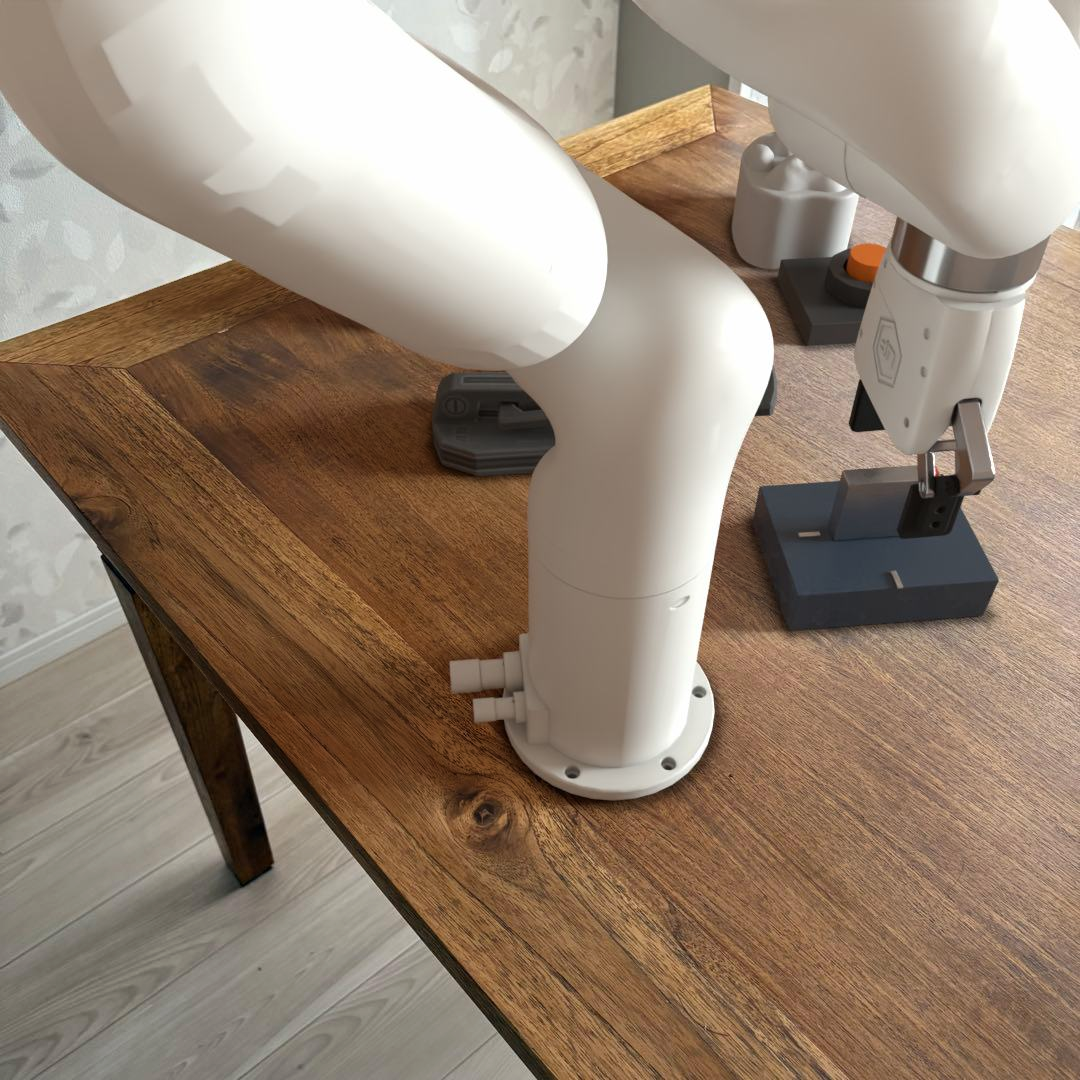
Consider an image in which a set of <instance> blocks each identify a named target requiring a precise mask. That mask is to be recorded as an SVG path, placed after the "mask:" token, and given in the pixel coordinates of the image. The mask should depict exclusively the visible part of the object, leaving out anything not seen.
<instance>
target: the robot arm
mask: <svg viewBox="0 0 1080 1080" xmlns="http://www.w3.org/2000/svg"><path fill="white" fill-rule="evenodd" d="M631 1H632V2H633V3H634V5H636V7H638V8H639V9H640V10H641V11H642V12H643V13H644V14H645V15H646V16H648V18H650V19H651V20H652V21H653V22H654V23H655V24H656V25H658V26H659V27H660V29H662V30H664V31H665V32H666V33H667V34H669V35H670V36H672V37H673V38H675V39H676V40H678V41H679V42H680V43H681V44H683V45H685V46H686V47H687V48H688V49H690V50H691V51H693V52H695V54H697V55H699V56H700V57H701V58H702V59H704V60H705V61H706V62H708V63H710V64H711V65H713V66H714V67H716V68H717V69H719V70H720V71H722V72H723V73H725V74H727V75H728V76H729V77H732V78H733V79H735V80H737V81H738V82H739V83H741V84H743V85H745V86H747V87H748V88H750V89H752V90H754V91H755V92H758V93H760V94H761V95H764V96H765V97H767V109H768V115H769V120H770V123H771V125H772V127H773V131H774V132H775V133H776V134H777V136H778V137H779V139H780V141H781V142H782V143H783V144H784V145H785V146H786V147H787V149H788V150H789V151H790V152H791V153H792V154H793V155H795V156H796V157H797V158H798V159H800V160H801V161H803V162H804V163H805V164H807V165H808V166H810V167H811V168H813V169H815V170H817V171H818V172H820V173H821V174H823V175H825V176H826V177H828V178H830V179H832V180H833V181H835V182H837V183H839V184H840V185H842V186H844V187H846V188H847V189H849V190H851V191H853V192H854V193H856V194H858V195H859V197H861V198H864V199H868V200H869V201H870V202H872V203H874V204H875V205H877V206H879V207H880V208H882V209H884V210H886V211H887V212H889V213H891V214H892V215H894V216H896V218H895V219H896V220H895V223H894V227H893V231H892V235H891V237H890V239H889V241H888V243H887V246H886V247H885V248H886V250H885V252H884V255H883V257H882V260H881V263H880V265H879V268H878V271H877V273H876V276H875V279H874V282H873V285H872V289H871V292H870V295H869V298H868V302H867V305H866V308H865V312H864V315H863V319H862V322H861V326H860V330H859V333H858V337H857V341H856V343H855V346H854V351H853V361H854V365H855V368H856V372H857V374H858V376H859V379H858V383H857V387H856V391H855V395H854V399H853V403H852V407H851V412H850V415H849V419H848V420H849V421H848V426H849V428H850V430H851V432H853V433H854V432H855V433H865V432H877V431H878V432H879V431H885V433H887V436H888V438H889V439H890V441H891V443H892V444H893V445H894V446H895V448H896V449H897V450H898V451H900V453H902V454H903V455H905V456H913V455H916V461H917V463H916V465H917V467H918V484H914V485H911V486H910V489H909V492H908V495H907V498H906V502H905V505H904V508H903V511H902V514H901V517H900V521H899V524H898V527H897V532H898V534H899V536H900V538H902V539H909V538H921V537H932V536H944V535H947V534H949V533H950V532H951V531H952V529H953V526H954V523H955V521H956V518H957V515H958V513H959V510H960V507H961V506H962V505H963V502H964V498H965V497H969V496H978V495H980V494H981V492H982V490H983V489H984V488H986V487H987V486H988V485H990V484H991V483H992V482H993V481H995V477H996V471H995V470H996V469H995V464H994V461H993V456H992V452H991V447H990V442H989V438H988V434H989V432H990V429H991V427H992V425H993V423H994V420H995V418H996V415H997V412H998V409H999V406H1000V403H1001V401H1002V397H1003V394H1004V390H1005V388H1006V384H1007V381H1008V377H1009V373H1010V370H1011V366H1012V362H1013V360H1014V357H1015V353H1016V352H1015V351H1016V347H1017V343H1018V339H1019V334H1020V329H1021V326H1022V325H1021V324H1022V320H1023V315H1024V309H1025V304H1026V298H1027V297H1026V296H1027V295H1026V292H1025V291H1027V290H1028V289H1030V287H1031V286H1032V285H1033V284H1034V281H1035V279H1036V277H1037V274H1038V272H1039V269H1040V266H1041V263H1042V261H1043V258H1044V255H1045V252H1046V249H1047V246H1048V244H1049V242H1050V239H1051V235H1052V234H1053V233H1054V232H1055V231H1057V230H1058V229H1059V228H1060V227H1061V226H1062V225H1063V224H1064V223H1065V221H1067V219H1069V217H1070V216H1071V215H1072V214H1073V213H1074V211H1075V210H1076V208H1077V207H1078V206H1079V204H1080V0H631ZM0 93H1V94H2V96H3V97H4V99H5V100H6V102H7V104H8V105H9V106H10V108H11V110H12V111H13V112H14V113H15V115H16V116H17V118H18V119H19V120H20V121H21V123H22V124H23V125H24V127H25V128H26V129H27V130H28V132H29V133H30V134H31V136H33V137H34V138H35V139H36V140H37V141H38V143H39V144H40V145H41V146H42V147H43V148H44V149H45V150H46V151H47V152H48V153H49V154H50V155H51V156H52V157H53V158H55V159H56V160H57V161H58V162H59V163H60V164H61V165H62V166H64V167H65V168H67V170H68V171H70V172H72V173H73V174H74V175H76V176H77V177H78V178H80V179H81V180H82V181H83V182H85V183H86V184H88V185H90V186H91V187H93V188H94V189H96V190H97V191H99V192H100V193H102V194H103V195H105V196H107V197H108V198H110V199H112V200H114V201H115V202H117V203H118V204H120V205H122V206H124V207H126V208H128V209H130V210H132V211H133V212H135V213H137V214H139V215H140V216H143V217H145V218H146V219H149V220H151V221H153V222H154V223H157V224H158V225H161V226H162V227H165V228H166V229H167V228H168V229H169V230H171V231H173V232H176V233H177V234H179V235H181V236H184V237H185V238H187V239H190V240H192V241H194V242H196V243H198V244H200V245H202V246H204V247H206V248H208V249H210V250H212V251H214V252H216V253H219V254H220V255H222V256H223V257H226V258H228V259H230V260H232V261H234V262H236V263H238V264H241V265H243V266H244V267H246V268H248V269H249V270H251V271H253V272H254V273H257V274H259V275H260V276H262V277H264V278H266V279H268V280H269V281H271V282H273V283H274V284H275V285H279V286H280V287H282V288H284V289H286V290H289V291H291V292H293V293H295V294H297V295H299V296H301V297H303V298H305V299H307V300H309V301H312V302H314V303H315V304H318V305H320V306H322V307H324V308H326V309H329V310H331V311H333V312H334V313H337V314H339V315H341V316H343V317H345V318H347V319H348V320H351V321H353V322H355V323H357V324H360V325H361V326H364V327H366V328H368V329H369V330H371V331H373V332H375V333H377V334H378V335H380V336H382V337H384V338H386V339H387V340H390V341H392V342H393V343H395V344H397V345H398V346H400V347H402V348H404V349H406V350H408V351H411V352H412V353H414V354H417V355H419V356H422V357H424V358H426V359H429V360H431V361H433V362H436V363H441V364H444V365H448V366H452V367H456V368H461V369H463V370H473V371H475V370H476V371H487V372H503V371H504V372H507V373H508V374H509V375H510V376H511V377H512V378H513V380H514V381H515V382H516V383H517V384H518V385H519V386H520V387H521V388H522V389H523V390H524V391H525V392H526V393H527V394H528V395H529V396H530V397H531V398H532V399H533V400H534V401H535V402H536V403H537V404H538V405H539V406H540V407H541V409H542V410H543V411H544V412H545V414H546V416H547V418H548V419H549V421H550V423H551V425H552V428H553V430H554V434H555V439H556V440H555V446H554V447H552V448H551V449H550V450H549V451H548V452H547V453H546V454H545V455H544V456H543V457H542V458H541V460H540V461H539V463H538V464H537V466H536V468H535V470H534V472H533V473H532V475H531V478H530V481H529V487H528V493H527V504H526V507H527V508H526V532H527V533H526V534H527V542H528V543H527V544H528V545H527V546H528V547H527V555H528V556H527V560H528V562H527V566H528V568H527V569H528V570H527V571H528V572H527V573H528V576H527V577H528V581H527V582H528V584H527V585H528V588H527V589H528V593H527V594H528V632H526V633H520V634H519V635H518V650H515V651H506V652H504V651H503V652H502V658H494V659H480V658H471V659H470V658H469V659H457V660H449V676H450V677H449V678H450V689H451V691H450V692H451V694H452V695H454V694H465V693H466V694H467V693H479V692H482V691H485V690H497V689H503V693H502V697H494V696H492V697H478V698H472V708H473V721H474V724H479V723H491V722H496V721H501V720H503V723H504V729H505V732H506V734H507V737H508V740H509V742H510V745H511V746H512V748H513V750H514V751H515V753H516V754H517V756H518V757H519V758H520V760H521V762H523V763H524V764H525V765H526V767H527V768H529V769H530V770H531V771H532V772H533V773H534V775H536V776H538V777H539V778H541V779H542V780H544V781H545V782H547V783H548V784H549V785H551V786H553V787H555V788H558V789H560V790H562V791H565V792H566V793H569V794H572V795H575V796H579V797H584V798H588V799H592V800H601V801H602V800H603V801H622V800H623V801H624V800H633V799H638V798H641V797H642V798H643V797H646V796H649V795H653V794H656V793H658V792H660V791H662V790H664V789H666V788H669V787H671V786H673V785H674V784H675V783H677V782H678V781H680V780H681V779H682V778H684V777H685V776H686V775H687V774H689V772H691V770H692V769H694V767H695V766H696V764H697V763H698V762H699V761H700V760H701V758H702V756H703V755H704V753H705V751H706V749H707V747H708V745H709V741H710V738H711V734H712V731H713V727H714V726H713V725H714V718H715V703H714V701H715V700H714V694H713V691H712V688H711V684H710V681H709V679H708V677H707V675H706V674H705V672H704V670H703V668H702V667H701V665H700V664H699V662H698V661H697V660H698V654H699V648H700V643H701V642H700V641H701V635H702V632H703V631H702V629H703V625H704V618H705V612H706V606H707V601H708V596H709V595H708V594H709V590H710V583H711V578H712V577H711V576H712V571H713V566H714V559H715V553H716V548H717V542H718V537H719V532H720V531H719V530H720V525H721V520H722V515H723V508H724V504H725V499H726V495H727V491H728V488H729V484H730V480H731V476H732V473H733V469H734V466H735V464H736V460H737V458H738V454H739V452H740V450H741V447H742V444H743V443H744V440H745V437H746V435H747V433H748V431H749V428H750V427H751V425H752V422H753V420H754V417H756V416H755V413H756V411H757V409H758V407H759V405H760V403H761V400H762V398H763V395H764V393H765V390H766V388H767V385H768V381H769V378H770V374H771V371H772V366H774V359H775V357H774V356H775V347H774V337H773V332H772V328H771V325H770V321H769V319H768V316H767V314H766V312H765V310H764V308H763V306H762V305H761V303H760V301H759V299H758V298H757V296H756V295H755V294H754V293H753V292H752V290H751V289H750V288H749V287H748V285H747V284H746V283H745V281H743V279H742V278H740V276H738V275H737V274H736V273H735V271H734V270H733V269H731V268H730V267H729V266H728V265H727V264H726V263H724V261H722V260H721V259H720V258H718V257H717V256H716V255H715V254H714V253H712V252H711V251H710V250H708V249H707V248H706V247H704V246H703V245H701V243H699V242H697V241H696V240H694V239H693V238H691V237H690V236H689V235H687V234H686V233H684V232H683V231H681V230H680V229H679V228H678V227H676V226H674V225H673V224H672V223H670V222H668V221H667V220H666V219H664V218H663V217H662V216H660V215H658V214H657V213H656V212H654V211H653V210H651V209H648V208H646V207H645V206H643V205H642V204H640V203H638V202H637V201H636V200H635V199H633V198H631V197H630V196H629V195H627V194H626V193H624V192H623V191H622V190H621V189H619V188H618V187H616V186H614V184H611V183H610V182H609V181H608V180H606V179H604V178H603V177H602V176H601V175H598V173H595V171H592V170H591V169H590V168H588V167H587V166H586V165H584V164H583V163H582V162H580V161H578V160H577V159H576V158H574V157H573V156H572V155H570V154H569V153H567V151H565V150H564V148H563V147H562V146H561V145H560V144H559V143H558V142H557V140H556V139H555V138H554V137H553V136H552V135H551V134H550V133H549V132H548V130H547V129H546V128H545V127H544V126H543V125H541V124H540V122H538V121H537V120H536V119H535V118H534V117H533V116H531V115H530V114H529V113H527V112H526V110H524V108H522V107H520V105H519V104H517V103H516V102H514V101H513V100H512V99H511V98H510V97H508V96H507V95H505V94H504V93H503V92H501V91H499V90H498V89H497V88H495V87H494V86H493V85H491V84H490V83H489V82H487V81H486V80H485V79H483V78H481V77H480V76H479V75H478V74H477V75H476V74H475V73H474V72H473V71H471V70H470V69H469V68H466V67H465V66H464V65H462V64H461V63H459V62H458V61H456V59H454V58H452V57H450V56H449V55H448V54H446V53H445V52H444V51H442V50H441V49H439V48H438V47H436V46H434V45H432V43H430V42H428V41H427V40H425V39H424V38H422V37H420V36H418V35H416V34H414V33H413V32H411V31H409V30H405V29H404V28H402V27H401V26H400V25H399V24H397V22H395V21H394V20H393V19H392V18H391V17H390V16H389V15H388V14H387V13H386V12H385V11H383V10H382V9H381V8H380V7H379V6H378V5H377V4H375V3H374V2H373V1H371V0H0ZM949 427H951V428H952V432H953V437H954V438H947V439H940V438H941V437H942V436H943V434H945V432H946V431H947V430H948V428H949ZM953 451H954V470H955V472H954V473H953V474H949V475H944V476H935V465H936V457H935V453H941V452H953ZM961 508H962V507H961Z"/></svg>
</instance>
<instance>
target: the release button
mask: <svg viewBox="0 0 1080 1080" xmlns="http://www.w3.org/2000/svg"><path fill="white" fill-rule="evenodd" d="M886 248H887V247H885V246H883V245H881V244H876V243H869V242H867V243H866V242H865V243H860V244H856V245H853V247H852V248H850V249H851V251H850V254H849V259H848V263H847V267H846V272H847V274H848V275H849V276H851V277H853V278H854V279H856V280H860V281H864V282H868V283H873V282H874V279H875V276H876V273H877V271H878V268H879V265H880V263H881V260H882V257H883V255H884V252H885V250H886Z"/></svg>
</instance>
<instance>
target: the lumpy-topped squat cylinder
mask: <svg viewBox="0 0 1080 1080" xmlns="http://www.w3.org/2000/svg"><path fill="white" fill-rule="evenodd" d="M859 198H860V195H858V194H856V193H854V192H853V191H851V190H849V189H847V188H846V187H844V186H842V185H840V184H839V183H837V182H835V181H833V180H832V179H830V178H828V177H826V176H825V175H823V174H821V173H820V172H818V171H817V170H815V169H813V168H811V167H810V166H808V165H807V164H805V163H804V162H803V161H801V160H800V159H798V158H797V157H796V156H795V155H793V154H792V153H791V152H790V151H789V150H788V149H787V147H786V146H785V145H784V144H783V143H782V142H781V141H780V139H779V137H778V136H777V134H776V133H775V131H771V132H768V133H765V134H763V135H761V136H759V137H756V139H754V140H753V141H752V142H751V143H750V144H748V145H747V146H746V148H745V149H743V151H742V155H741V159H740V165H739V171H738V180H737V186H736V192H735V200H734V207H733V214H732V220H731V234H732V235H731V236H732V240H733V243H734V245H735V248H736V251H737V254H738V255H739V256H740V258H741V259H742V260H744V262H746V263H748V264H749V265H751V266H754V267H756V268H760V269H766V270H779V268H780V263H781V260H784V259H803V258H822V257H833V255H835V254H837V253H839V252H842V251H844V250H846V249H848V246H849V242H850V237H851V233H852V229H853V225H854V220H855V216H856V211H857V207H858V203H859Z"/></svg>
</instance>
